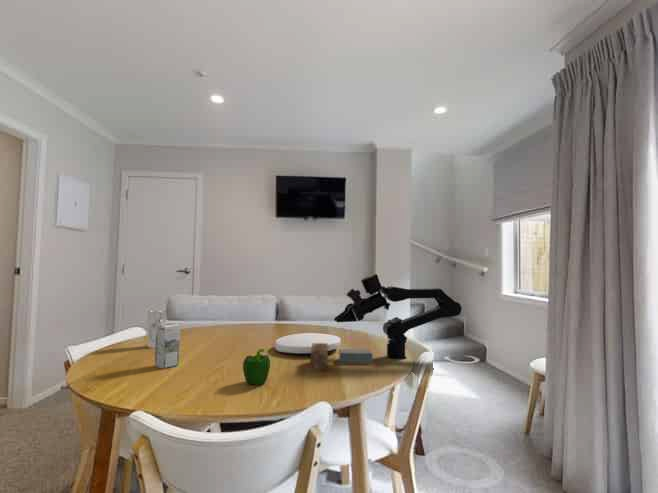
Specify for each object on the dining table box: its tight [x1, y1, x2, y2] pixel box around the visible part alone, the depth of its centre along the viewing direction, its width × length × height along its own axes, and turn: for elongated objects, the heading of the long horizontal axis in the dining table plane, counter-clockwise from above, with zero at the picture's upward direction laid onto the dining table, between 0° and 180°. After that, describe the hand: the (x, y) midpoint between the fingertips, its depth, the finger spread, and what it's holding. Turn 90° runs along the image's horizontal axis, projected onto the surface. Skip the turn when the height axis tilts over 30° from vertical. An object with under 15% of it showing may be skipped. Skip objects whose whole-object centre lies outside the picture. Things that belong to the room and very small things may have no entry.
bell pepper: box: [242, 348, 271, 386], centre depth 107 cm, size 8×8×10 cm
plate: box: [274, 332, 342, 354], centre depth 149 cm, size 28×6×27 cm
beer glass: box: [146, 309, 166, 349], centre depth 151 cm, size 7×7×15 cm
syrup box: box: [154, 322, 181, 370], centre depth 123 cm, size 6×6×14 cm
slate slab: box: [338, 348, 373, 364], centre depth 132 cm, size 12×6×4 cm, turn 92°
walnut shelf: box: [310, 343, 328, 372], centre depth 125 cm, size 6×11×7 cm, turn 0°
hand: (335, 320), depth 137 cm, fingers open, 9 cm apart
